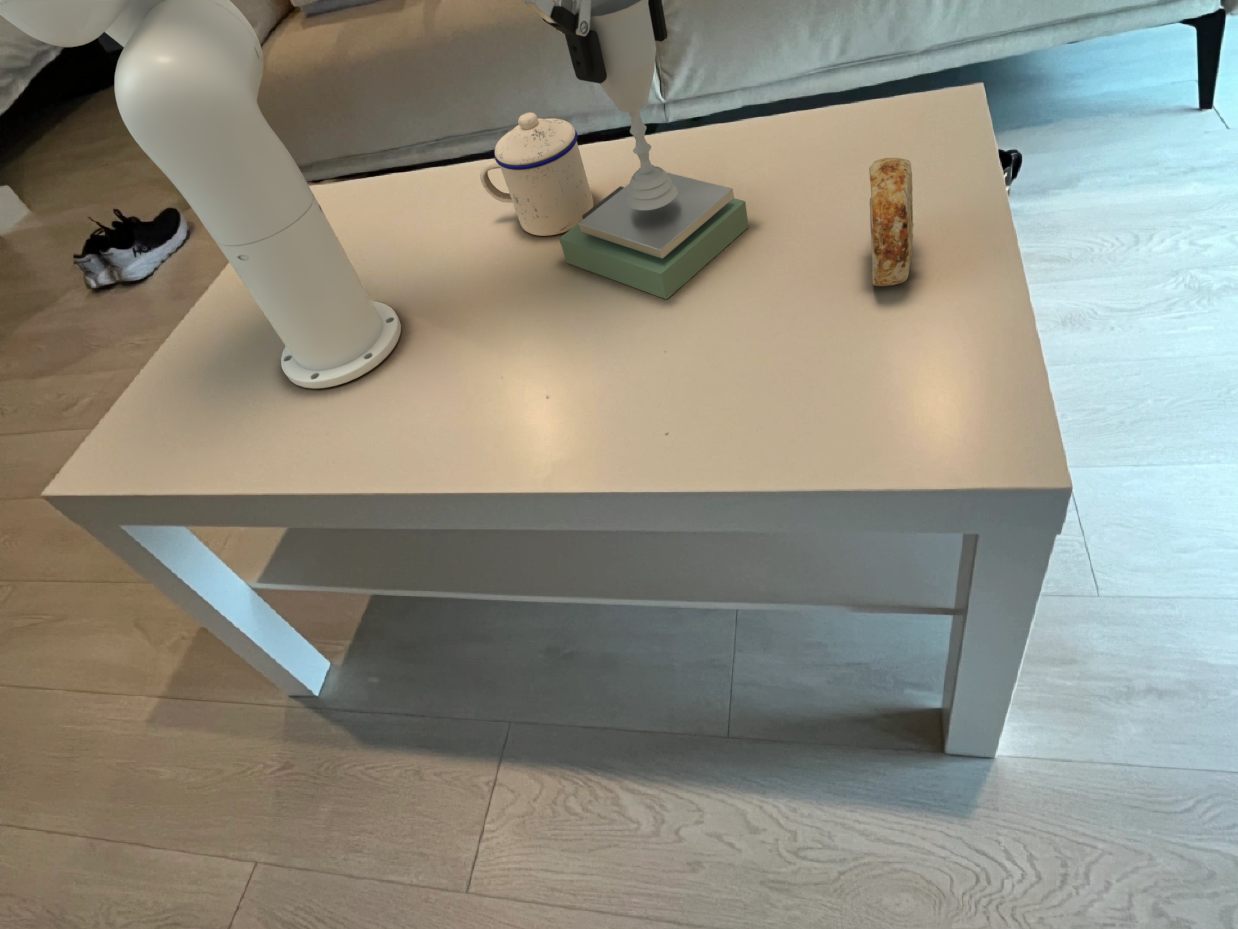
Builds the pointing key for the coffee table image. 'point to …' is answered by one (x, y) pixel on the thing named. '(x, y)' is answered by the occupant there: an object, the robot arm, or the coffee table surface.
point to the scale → (649, 269)
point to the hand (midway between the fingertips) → (622, 57)
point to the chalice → (631, 86)
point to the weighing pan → (657, 217)
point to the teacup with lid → (541, 175)
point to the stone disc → (891, 220)
